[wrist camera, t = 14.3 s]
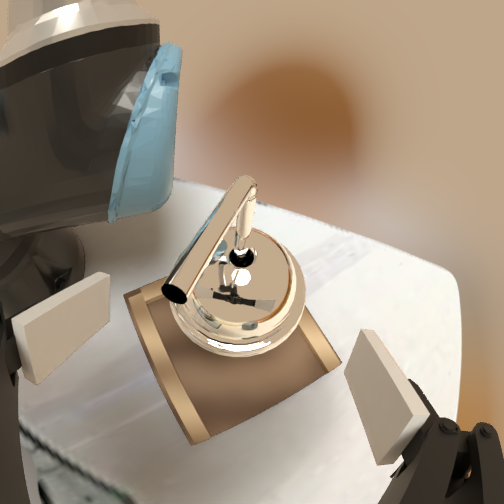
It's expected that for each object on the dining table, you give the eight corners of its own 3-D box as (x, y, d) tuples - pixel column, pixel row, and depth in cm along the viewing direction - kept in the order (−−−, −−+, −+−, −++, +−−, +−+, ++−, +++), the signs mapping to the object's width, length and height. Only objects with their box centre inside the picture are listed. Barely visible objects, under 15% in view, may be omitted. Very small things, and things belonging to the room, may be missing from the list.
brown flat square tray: (126, 299, 27) (120, 291, 26) (258, 243, 33) (261, 233, 31) (192, 444, 21) (190, 446, 19) (337, 364, 26) (345, 361, 24)
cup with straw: (295, 335, 26) (414, 182, 9) (223, 399, 22) (224, 365, 5) (236, 275, 29) (259, 82, 12) (164, 329, 25) (75, 157, 8)
